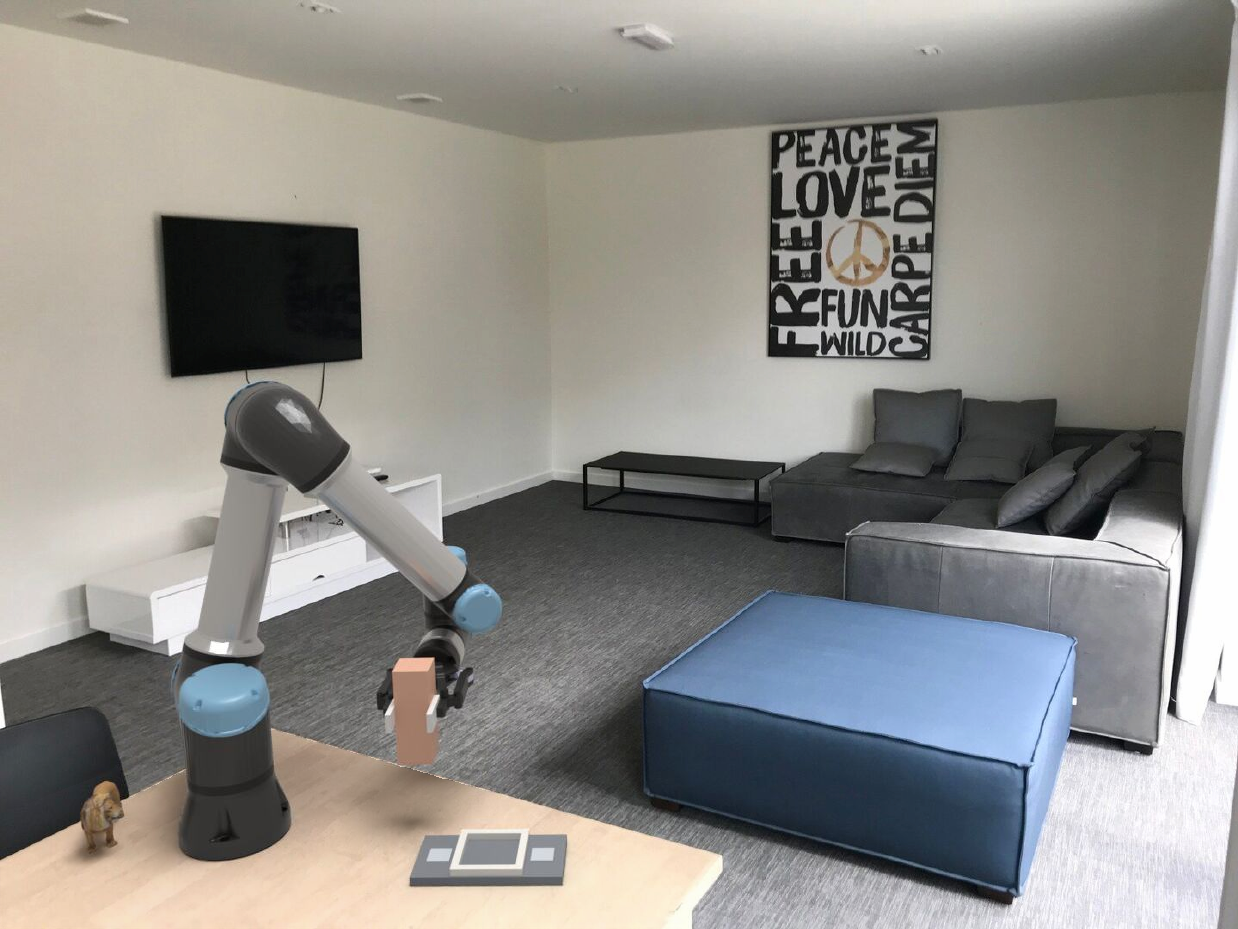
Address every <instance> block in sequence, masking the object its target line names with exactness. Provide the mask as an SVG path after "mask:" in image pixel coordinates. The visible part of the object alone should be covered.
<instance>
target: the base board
mask: <svg viewBox="0 0 1238 929" xmlns="http://www.w3.org/2000/svg"><path fill="white" fill-rule="evenodd" d="M567 846H568V834H566V833H565V834H564V833H562V834H559V833H557V834H552V833H550V834H530V828H512V829H511V828H506V829H505V828H500V829H498V828H496V829H495V828H493V829H491V828H487V829H486V828H485V829H483V828H482V829H481V828H480V829H479V828H478V829H477V828H476V829H473V828H472V829H469V828H468V829H461V831H460V834H432V835H431V834H426V835H424V838H423V839H422V842H421V845H420V847H419V850H418V852H417V856H416V859H415V862H414V864H413V868H412V869H411V872H410V875H409V887H433V886H434V887H441V886H445V887H446V886H449V887H451V886H453V887H454V886H459V887H460V886H461V887H462V886H464V887H465V886H467V887H470V886H472V887H473V886H474V887H475V886H479V887H480V886H563V884H564V877H565V876H564V874H565V867H566V866H565V865H566V858H567V856H566V855H567Z"/></svg>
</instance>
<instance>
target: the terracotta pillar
mask: <svg viewBox="0 0 1238 929" xmlns="http://www.w3.org/2000/svg"><path fill="white" fill-rule="evenodd" d="M392 679H393V696H394V707H395V726H394V729H395V745H396V759H397V760H396V761H397V762H396V763H397V766H403V765H404V766H417V765H418V766H419V765H420V766H421V765H422V766H423V765H426V766H427V765H434V762H435V760H436V757H437V754H438V751H439V748H440V744H439V743H440V742H439V722H438V721H439V719H438V720H437V723H436V725H435V728H434V731H433V733H427V719H426V714H427V712H428V709H429V707H430V704H431V702H432V700H433V697H434V695H437V692H436V681H435V661H434V658H412V657H403V658H401V657H400V658H399V659H398V660H397V662H396V664H395V666H394V668H393V671H392Z"/></svg>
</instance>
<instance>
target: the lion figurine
mask: <svg viewBox="0 0 1238 929" xmlns="http://www.w3.org/2000/svg"><path fill="white" fill-rule="evenodd" d="M92 791H93V792H92V793H93V794H92V795H91V796H90V797H89V798H87V799H86V801H85V802H84V804H83V806H82V808H81V811H80V812H79V818H80V826H81V829H82V830H83V831H84V835H85V839H86V842H87V848H86V849H85V852H86V853H87V852H92V853H94V852H95V851H96V849H97V844H96V840H95V837H94V836H98V835H102V834H105V843H106V846H107V847H108V848H112V847H114V846H116V845H117V844H118V841H117V840H116V839H115V838H114V822H117V821H118V820H119V819H120V818H123V817H124V815H125V813H124V811H123V803H122V801H121V799H120V797H121V796H120V791H119V789H118V787H117V785H116V783H114V782H111V781H108V780H105V781H103V782H101V783H99V784H97V785H96V786H95V788H93V790H92Z"/></svg>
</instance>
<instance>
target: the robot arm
mask: <svg viewBox="0 0 1238 929" xmlns="http://www.w3.org/2000/svg"><path fill="white" fill-rule="evenodd" d="M223 414H224V415H223V420H224V422H223V424H224V428H225V434H224V439H223V442H222V443H223V444H222V450H221V454H220V459H219V465H220V466H221V467H222V469H223V470H224V471H225V473H226V474H227V480H226V485H225V490H224V495H223V499H222V505H221V509H220V515H219V519H218V525H217V529H216V534H215V539H214V544H213V549H212V550H213V551H212V553H211V554H212V555H211V559H210V564H209V568H208V575H207V579H206V585H205V589H204V594H203V598H202V605H201V607H200V614H199V620H198V625H197V628H196V629H194V630H193V631H191V632H190V633H188V634H187V635H186V636H185V637H184V639H183V640H184V641H183V646H182V650H181V654H180V658H179V660H178V661H177V663H176V665H175V667H174V669H173V672H172V675H171V680H170V681H171V682H170V691H171V697H172V700H173V703H174V705H175V710H176V713H177V717H178V718H177V719H178V721H179V726H180V731H181V736H182V738H181V739H182V744H183V754H184V764H185V774H186V781H187V782H186V783H187V792H186V796H185V801H184V804H183V807H182V812H181V816H180V817H181V818H180V821H179V823H178V828H177V830H178V831H177V833H178V841H179V847H180V849H181V851H183V853H185V854H186V855H187V856H189V857H192V858H196V859H199V860H205V861H206V860H207V861H222V860H231V859H237V858H241V857H244V856H248V855H253V854H255V853H257V852H260V851H262V850H264V849H266V848H268V847H269V846H272V845H273V844H275V843H276V842H278V841H279V840H281V838H283V837H284V836H285V834H287V832H288V831H289V829H290V827H291V825H292V815H291V814H292V813H291V806H290V803H289V802H290V801H289V800H288V798H287V796H286V793H285V792H284V789H283V787H282V785H281V784H280V781H279V779H278V776H277V775H276V772H275V765H274V764H275V763H274V761H275V760H274V751H273V750H274V747H273V739H272V728H271V727H272V726H271V725H272V724H271V716H270V700H271V697H270V695H271V694H270V690H269V688H268V684H267V680H266V678H265V675H264V674H263V673H262V672H261V667H262V662H263V656H264V652H265V644H264V643H263V642H262V641H261V639H260V638H259V637H258V629H259V625H260V619H261V615H262V612H263V605H264V600H265V596H266V591H267V585H268V580H269V575H270V572H271V566H272V562H273V556H274V550H275V546H276V541H277V536H278V532H279V527H280V521H281V518H282V511H283V509H284V508H283V506H284V502H285V497H286V493H287V488H288V486H289V485H292V486H293V487H294V488H295V489H296V490H297V491H298V492H300V493H301V494H302V495H304V496H305V495H314V497H315V498H316V499H318V500H319V501H321V502H322V503H323V504H324V505H325V506H326V507H327V508H328V509H329V510H331V511H332V512H333V513H334V514H335V515H336V516H337V517H338V518H340V520H342V521H343V523H345V524H346V525H347V526H348V527H349V528H351V529H352V530H353V531H354V533H356V534H357V535H358V536H359V537H360V538H362V540H364V541H365V543H367V544H368V545H370V547H371V548H373V549H374V550H375V552H377V553H378V554H380V556H382V558H383V559H385V560H386V562H387V563H388V562H389V564H390V565H392V567H394V568H395V569H396V570H397V571H398V572H399V573H401V575H403V576H404V577H405V578H406V579H407V580H408V581H409V582H410V583H411V584H413V585H414V586H415V587H416V588H417V589H418V590H419V591H420V592H422V603H423V623H424V624H423V625H424V628H423V629H424V633H423V634H424V635H423V637H422V639H421V641H420V642H419V644H418V646H417V648H416V650H415V651H414V654H413V655H412V657H411V658H434V661H435V681H436V695H434V697H433V700H432V702H431V704H430V707H429V709H428V712H427V714H426V719H427V733H433V731H434V728H435V725H436V723H437V720H438V721H439V719H441V718H442V719H443V718H445V717H446V716H447V714H448V711H449V710H450V708H454V709H455V710H461V709H463V706H464V703H465V700H466V697H467V693H468V691H469V688H470V687H471V686H472V685H474V683H475V682H474V680H475V679H474V668H473V667H472V666H469V667H465V668H464V669H460V667H461V665H462V662H463V660H464V657H465V654H466V651H467V649H468V648H469V645H470V644H471V641H472V639H473V634H474V635H479V634H485V633H487V632H489V631H490V630H492V629H494V627H496V625H497V624H498V622H499V620H500V619H501V616H502V613H503V603H502V600H501V597H500V596H499V594H498V593H497V592H496V591H495V589H494V588H493V587H492V586H491V585H488V584H487V583H485V582H484V581H483V580H482V579H481V578H480V577H479V576H478V575H477V574H475V572H473V571H472V569H470V568H469V567H468V562H467V555H466V550H464V549H463V548H461V547H459V546H454V545H445V543H443V542H442V541H441V540H440V539H439V538H438V537H437V536H435V534H433V533H432V531H431V530H430V529H428V528H427V526H425V525H424V523H422V522H421V521H420V520H419V519H418V518H417V517H416V516H415V515H414V514H413V513H412V512H410V511H409V509H407V508H406V507H405V506H404V505H403V504H402V503H401V502H400V501H399V500H398V499H397V498H396V497H395V496H394V495H393V494H392V493H390V491H389V490H388V489H387V488H385V487H384V486H383V485H382V484H381V483H380V482H379V481H378V480H377V479H376V478H375V477H374V476H373V475H372V474H371V473H370V472H369V471H368V470H366V468H364V467H363V466H362V465H361V464H360V463H359V462H358V461H356V459H355V458H354V457H353V456H352V453H353V452H352V449H353V448H352V446H351V445H350V444H349V443H348V442H347V440H345V438H343V436H341V435H340V433H339V432H337V430H336V429H335V428H334V427H333V426H332V424H331V423H330V422H329V421H328V420H327V419H326V417H325V416H324V415H323V414H322V413H321V411H320V409H318V407H317V406H316V405H315V404H314V403H313V401H312V400H311V399H310V398H309V397H307V396H306V395H305V394H303V393H302V392H300V391H298V390H296V389H294V388H293V387H292V386H290V385H288V384H285V383H282V382H278V381H276V380H275V381H274V380H267V379H266V380H261V381H260V380H258V381H254V382H250V383H248V384H245V385H244V386H242V387H241V388H239V389H238V390H236V392H235V393H234V394H233V395H232V396H231V397H230V399H229V401H228V403H227V404H226V406H225V409H224V413H223ZM393 669H394V668H392V667H389V668H386V670H385V672H386V676H385V678H384V680H383V681H382V683H381V684H380V686H379V688H378V689H377V691H376V692H375V693H376V708H377V709H376V710H377V711H382V716H383V717H382V718H383V719H384V728H385V735H386V734H392V732H393V730H394V729H395V707H394V696H393V679H392V671H393ZM454 682H456V684H455V685H454V689H453V693H451V694H450V693H449V692H450V691H449V688H448V687H449V686H451V685H452V683H454Z"/></svg>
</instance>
